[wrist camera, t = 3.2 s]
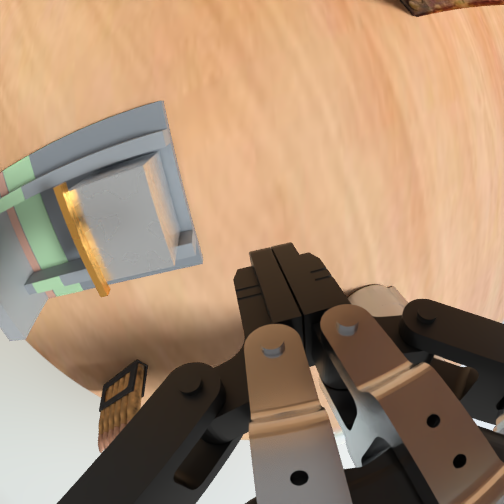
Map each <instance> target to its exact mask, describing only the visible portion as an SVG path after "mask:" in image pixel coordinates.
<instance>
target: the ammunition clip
mask: <svg viewBox="0 0 504 504" xmlns="http://www.w3.org/2000/svg"><path fill="white" fill-rule="evenodd" d="M147 369H148V366H147V365H146V364H144V363H142V362H140V361H139V360H136V361H134V362H133V363H132V364H131V365H129V366H128V367H127V368H125V369H124V370H123V371H122V372H120V373H119V374H118V375H116V376H115V377H114V378H112V379H111V380H110V381H109V382H107V383H106V384H105V385H104V386H103V391H102V397H101V403H100V408H99V412H101V413H100V420H99V437H98V447H99V451H100V452H101V453H102V451H103V450H104V449H106V448H107V447H108V446H109V444H110V443H111V442H112V441H113V440H114V439H115V438H116V436H117V435H118V434H119V433H120V432H121V431H122V429H123V428H124V427H125V426H126V425H127V424H128V422H129V421H130V420H131V419H132V418H133V417H134V416H135V414H136V413H137V412H138V411H139V410H140V406H141V398H142V397H144V391H145V383H146V376H147Z"/></svg>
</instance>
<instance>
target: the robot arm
mask: <svg viewBox="0 0 504 504" xmlns="http://www.w3.org/2000/svg"><path fill="white" fill-rule="evenodd" d="M249 255H250V260H251V265H252V266H250V267H246V268H242V269H238V270H237V272H236V275H235V277H234V279H233V280H234V285H235V290H236V295H237V300H238V305H239V310H240V315H241V319H242V324H243V329H244V334H245V340H244V344H243V346H242V348H241V350H240V351H239V352H238V353H237V354H236V355H235V356H234V357H233V358H232V359H230V360H228V361H227V362H225V363H223V364H221V365H219V366H217V367H215V368H212V367H211V366H209V365H207V364H204V363H188V364H184V365H182V366H180V367H178V368H176V369H175V370H174V371H172V372H171V373H170V374H169V376H168V377H167V378H166V379H165V380H164V381H163V383H162V384H161V385H160V386H159V387H158V389H157V390H156V391H155V392H154V393H153V394H152V396H151V397H150V398H149V399H148V400H147V401H146V403H145V404H144V405H143V406H142V407H141V409H140V410H139V411H138V412H137V413H136V414H135V416H134V417H133V418H132V419H131V420H130V421H129V422H128V424H127V425H126V426H125V427H124V428H123V429H122V431H121V432H120V433H119V434H118V435H117V436H116V438H115V439H114V440H113V441H112V442H111V443H110V444H109V446H108V447H107V448H106V449H105V450H104V451H103V452H102V454H101V455H100V456H99V457H98V458H97V459H96V460H95V462H94V463H93V464H92V465H91V466H90V467H89V468H88V469H87V471H86V472H85V473H84V474H83V475H82V476H81V477H80V478H79V480H78V481H77V482H76V483H75V484H74V485H73V486H72V487H71V488H70V490H69V491H68V492H67V493H66V494H65V495H64V496H63V497H62V499H61V500H60V501H59V502H58V503H57V504H196V502H197V501H198V500H199V498H200V497H201V496H202V494H203V493H204V492H205V490H206V489H207V488H208V486H209V485H210V483H211V482H212V481H213V479H214V478H215V476H216V475H217V473H218V472H219V471H220V469H221V468H222V466H223V465H224V464H225V462H226V461H227V459H228V458H229V456H230V455H231V453H232V452H233V450H234V449H235V447H236V445H237V444H238V442H239V441H240V439H241V438H242V436H243V434H245V433H247V432H249V439H250V447H251V457H252V465H253V474H254V482H255V491H256V497H255V498H253V499H251V500H250V501H248V502H247V503H245V504H504V324H502V323H499V322H496V321H493V320H490V319H487V318H484V317H481V316H478V315H475V314H472V313H469V312H466V311H463V310H460V309H457V308H454V307H451V306H448V305H445V304H441V303H438V302H435V301H432V300H429V299H416V300H413V301H411V302H409V303H408V302H407V301H406V300H405V298H404V297H403V296H402V295H401V294H400V293H399V291H398V290H397V289H396V288H395V287H390V288H387V287H385V286H382V285H370V286H367V287H364V288H362V289H360V290H358V291H356V292H355V293H353V294H351V295H350V296H349V297H348V298H347V297H346V295H345V294H344V292H343V291H342V290H341V288H340V287H339V285H338V284H337V282H336V281H335V279H334V278H333V277H332V276H331V274H330V272H329V271H328V269H326V267H325V265H324V264H323V262H322V261H321V260H320V258H318V257H316V256H314V255H312V254H311V253H305V254H300V255H299V253H298V252H297V250H296V248H295V247H294V245H293V244H292V243H291V242H290V243H286V244H281V245H277V246H273V247H271V249H270V247H269V248H264V249H260V250H256V251H251V252H249ZM443 358H445V359H448V360H451V361H453V362H456V363H459V364H462V365H465V366H467V367H460V366H457V365H454V364H451V363H448V362H445V360H444V359H443ZM314 365H316V368H317V370H318V373H319V385H320V388H321V390H322V391H323V393H324V395H325V397H326V399H327V401H328V403H329V405H330V407H331V409H332V411H333V413H334V415H335V417H336V419H337V421H338V423H339V425H340V427H341V429H342V431H343V433H344V435H345V439H346V445H347V449H348V452H349V454H350V457H351V459H352V461H353V462H354V465H355V466H356V468H350V469H343V466H342V462H341V459H340V455H339V452H338V448H337V444H336V441H335V437H334V434H333V430H332V427H331V423H330V420H329V417H328V414H327V412H326V410H325V408H324V407H322V406H321V404H320V402H319V399H318V395H317V392H316V388H315V385H314V381H313V378H312V374H311V371H310V368H309V367H311V366H314ZM472 418H474V419H477V420H481V421H484V422H487V423H490V424H494V425H496V426H495V427H494V429H493V431H492V430H489V429H486V428H483V427H480V426H477V425H476V423H475V422H474V421H473V419H472Z"/></svg>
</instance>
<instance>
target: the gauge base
mask: <svg viewBox="0 0 504 504" xmlns="http://www.w3.org/2000/svg"><path fill="white" fill-rule="evenodd" d="M158 151H159V153H160V157H161V161H162V165H163V169H164V172H165V176H166V180H167V184H168V187H169V191H170V195H171V198H172V202H173V205H174V209H175V212H176V216H177V219H178V223H179V226H180V235H179V241H178V247H177V253H176V260H175V266H173V267H168V268H164V269H160V270H155V271H151V272H146V273H142V274H137V275H133V276H129V277H124V278H120V279H115V280H111V281H107V284H108V285H109V284H114V283H118V282H123V281H127V280H132V279H136V278H141V277H145V276H150V275H154V274H159V273H163V272H168V271H172V270H177V269H181V268H185V267H190V266H194V265H199V264H203V256H202V253H201V249H200V246H199V242H198V239H197V235H196V232H195V228H194V225H193V221H192V217H191V214H190V210H189V206H188V202H187V199H186V195H185V191H184V187H183V183H182V179H181V175H180V171H179V167H178V163H177V159H176V155H175V151H174V146H173V142H172V138H171V133H170V129H169V124H168V120H167V115H166V111H165V106H164V101H158V102H155V103H151V104H148V105H145V106H141V107H138V108H135V109H132V110H129V111H126V112H124V113H121V114H118V115H115V116H112V117H110V118H107V119H105V120H102V121H100V122H97V123H95V124H92V125H90V126H87V127H85V128H83V129H80V130H78V131H76V132H74V133H72V134H69V135H67V136H65V137H63V138H61V139H59V140H57V141H55V142H53V143H51V144H49V145H47V146H45V147H43V148H41V149H39V150H38V151H36V152H34V153H32V154H30V155H29V156H27V157H25V158H23V159H22V160H20V161H18V162H17V163H15V164H13V165H12V166H10V167H8V168H7V169H5V170H4V171H2V172H1V173H0V328H1V329H2V331H3V332H4V334H5V335H6V336H7V338H8V339H9V340H10V341H13V340H24V339H26V338H27V336H28V334H29V332H30V330H31V328H32V326H33V324H34V322H35V321H36V319H37V317H38V315H39V313H40V312H41V310H42V308H43V306H44V305H45V303H46V301H47V300H48V298H53V297H56V296H62V295H66V294H71V293H75V292H80V291H83V290H87V289H91V288H96V287H95V285H94V283H93V281H92V279H91V277H90V275H89V273H88V271H87V269H86V267H85V265H84V263H83V261H82V259H81V257H80V255H79V252H78V250H77V248H76V246H75V244H74V241H73V239H72V237H71V234H70V232H69V229H68V227H67V225H66V222H65V219H64V217H63V214H62V212H61V209H60V206H59V204H58V201H57V198H56V195H55V192H54V189H53V188H54V187H56V186H57V185H59V184H61V183H64V182H66V184H67V187H68V190H69V189H70V188H72V187H73V186H74V185H76V184H77V183H79V182H80V181H82V180H83V179H85V178H86V177H88V176H89V175H91V174H92V173H94V172H96V171H99V170H102V169H105V168H107V167H110V166H113V165H116V164H119V163H122V162H125V161H128V160H131V159H134V158H138V157H141V156H144V155H147V154H151V153H154V152H158Z"/></svg>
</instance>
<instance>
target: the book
mask: <svg viewBox="0 0 504 504" xmlns="http://www.w3.org/2000/svg"><path fill="white" fill-rule="evenodd" d="M400 2H401V3H402V4H403V5H404V6H405V7H406V8H407V9H408V10H409V11H410V12H411V14H412V15H413V16H416V17H419V16H423V15H428V14H432V13H437V12H443V11H448V10H454V9H461V8H469V7H478V6H490V5H504V0H400Z"/></svg>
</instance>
